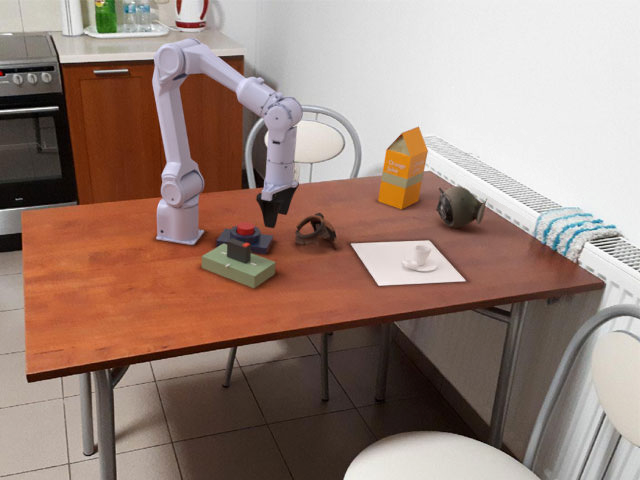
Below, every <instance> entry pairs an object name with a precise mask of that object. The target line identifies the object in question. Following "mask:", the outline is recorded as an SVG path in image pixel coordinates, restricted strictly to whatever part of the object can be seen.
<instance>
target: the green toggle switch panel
mask: <svg viewBox="0 0 640 480" xmlns="http://www.w3.org/2000/svg"><path fill="white" fill-rule="evenodd" d="M276 264H277V262H276V261H274V260H271V259H268V258H265V257H262V256H260V255H257V254H256V253H253V252H251V259H250V261H249V262H248V263H246V264H245V263H242V262H240V261H237V260H234V259H232V258H229V257H227V244H222V245H220V246H219V247H215V248H213V249H211V250H210V251H208V252H206V253H205V254H203V255H202V256H201V268H202V269H203V270H206V271H209V272H211V273H214V274H216V275H219V276H221V277H224V278H226V279H228V280H232V281H234V282H237V283H239V284H242V285H243V286H248V287H250V288H252V289H256V288H257V287H259V286H260V285H261V284H263V283H265V281H268V279H270V278H271V277H273V276H274V275H275V274H276Z"/></svg>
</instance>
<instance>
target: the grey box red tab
mask: <svg viewBox="0 0 640 480" xmlns="http://www.w3.org/2000/svg"><path fill="white" fill-rule="evenodd" d="M251 253H252V252H251V245H250V244H249V243H244V242H241V241H238V240H236V239H233V238H232V239H230V240H229V241H227V257H229V258H232V259H234V260H237V261H240V262H242V263H245V264H246V263H248V262H249V261H250V259H251Z"/></svg>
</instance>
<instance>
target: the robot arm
mask: <svg viewBox="0 0 640 480" xmlns="http://www.w3.org/2000/svg"><path fill="white" fill-rule="evenodd" d="M152 57H153V62H154V70H153V74H152V80H151V83H152V89H153V95H154V99H155V104H156V111H157V116H158V121H159V127H160V128H159V129H160V134H161V138H162V144H163V149H164V154H165V160H166V164H165V166H164V168H163V170H162V173H161V175H160V176H161V181H162V183H161V187H160V195H161V197H162V198H161V199H160V200H159V202H158V204H157V208H156V230H157V231H156V233H157V235H156V237H155V239H156V240H157V241H162V242H170V243H175V244H181V245H188V246H195V245H196V243H197V242H198V241H199V240H200V238H201V237H202V235H203V234H204V233H205V230H204V229H199V227H200V226H199V224H200V223H199V221H200V220H199V219H200V218H199V217H200V215H199V208H200V207H199V206H200V205H199V199H200V194H201V193H202V192H203V191H204V188H205V179H204V177H203V175H202V173H201V172H200V169H199V164H198V163H197V162H196V161H195V160H193V158H192V157H191V150H190V145H189V138H188V132H187V126H186V119H185V115H184V109H183V102H182V98H181V97H182V96H181V91H180V87H181V86H182V84H183V83H184V82H185V80H186V79H187V78H188V77H189V76H190V75H196V74H198V75H199V74H204V75H206V76H207V77H209V78H211V79H212V80H215V81H216V82H218V83H219V84H221V85H223V86H224V87H226V88H228V89H229V90H230V91H232V92H234V93H235V94H236V98H237V101H238V103H239V104H241V105H242V106H244V107H245V108H246V109H248V110H250V111H251V112H252V113H253V114H255V115H257V116H258V117H259V118H260V119H262V120H263V121H264V125H265V126H266V128H267V131H268V135H267V147H266V148H267V149H266V163H265V164H266V166H265V178H264V179H263V180H264V181H263V189H262V190H261V192H258V194H256V195H255V196H256V197H255V199H256V202H257V204H258V206H259V208H260V211H261V215H262V219H263V220H262V221H263V224H264V227H265V228H269V229H275V227H276V225H277V221H278V216H279V215H282V216H286V215H288V212H289V210H290V206H291V204H292V200H293V198H294V195H295V193H296V191H297V189H298V188H299V186H300V182H298V181H297V180H294V179H295V172H296V170H295V159H296V149H297V148H296V147H297V146H296V145H297V134H298V133H297V132H298V124H299V123H300V122H301V121H302V118H303V114H304V110H303V107H302V104H301V103H300V102H299V100H298V99H296V97H294V96H290V95H289V96H284V94H283V93H282V92H281V91H278V92H277V91H276V90H274V89H273V88H272V87H270V86H269V85H267V84H266V83H265V79H264V78H262V77H261V76H259V77H255V76H250V77H245V76H244V75H242V74H241V73H240V72H238V71H237V69H235V68H233V67H232V66H230V65H229V64H228V63H227V62H225V60H224V59H222V58H220V57H219V56H218V55H216V53H214V52H213V51H212V50H211V48H210V47H209V46H208V45H207V44H205V43H202V42H201V41H200V40H199V39H198V38H195V37H187V38H184V39H182V40H178V41H174V42H168V43H164V44H162V45H161V46H160V47H159V48H158V49H157V51H156V52H155V53H154V55H153V56H152Z"/></svg>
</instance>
